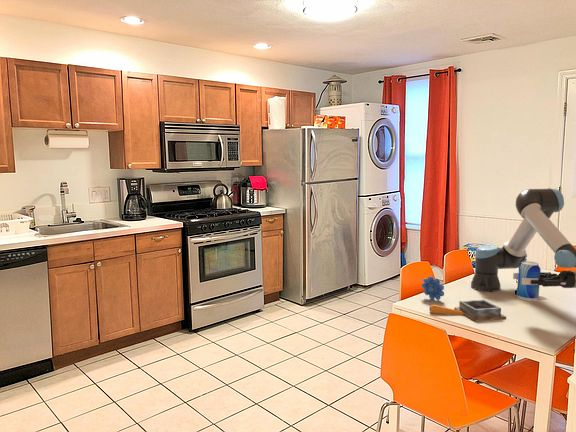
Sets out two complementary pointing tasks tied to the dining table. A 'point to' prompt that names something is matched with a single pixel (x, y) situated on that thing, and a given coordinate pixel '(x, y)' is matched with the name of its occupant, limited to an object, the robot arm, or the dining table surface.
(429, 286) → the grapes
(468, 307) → the holder
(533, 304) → the dining table surface
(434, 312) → the carrot
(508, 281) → the dining table surface
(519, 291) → the beer can
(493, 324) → the dining table surface
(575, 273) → the robot arm
